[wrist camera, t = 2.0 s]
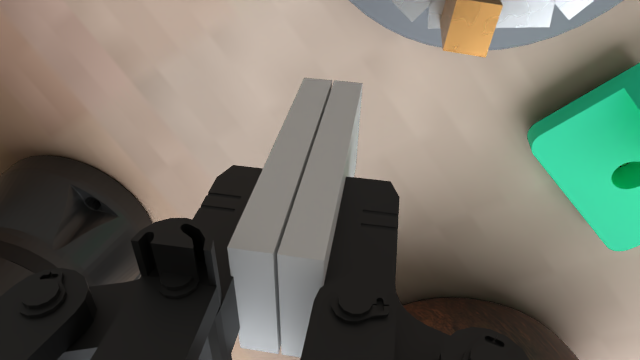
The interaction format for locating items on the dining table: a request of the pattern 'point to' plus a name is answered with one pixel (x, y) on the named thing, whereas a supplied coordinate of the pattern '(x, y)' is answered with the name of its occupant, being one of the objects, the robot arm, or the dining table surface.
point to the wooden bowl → (491, 324)
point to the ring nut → (484, 18)
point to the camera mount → (598, 157)
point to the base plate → (385, 12)
